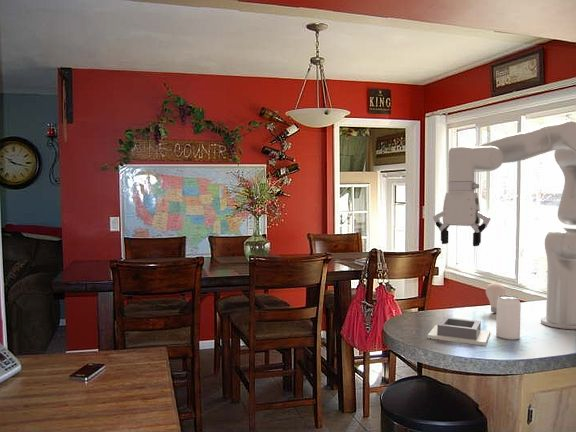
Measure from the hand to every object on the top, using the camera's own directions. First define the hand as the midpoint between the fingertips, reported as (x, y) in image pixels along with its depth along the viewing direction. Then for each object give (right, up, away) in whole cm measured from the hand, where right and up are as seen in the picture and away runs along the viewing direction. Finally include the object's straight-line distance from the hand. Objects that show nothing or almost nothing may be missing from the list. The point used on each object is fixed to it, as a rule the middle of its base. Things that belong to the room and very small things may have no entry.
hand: (460, 244), depth 150 cm
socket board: (-1, -27, -1) cm, 27 cm away
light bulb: (+22, -27, +28) cm, 45 cm away
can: (+14, -28, -2) cm, 31 cm away
